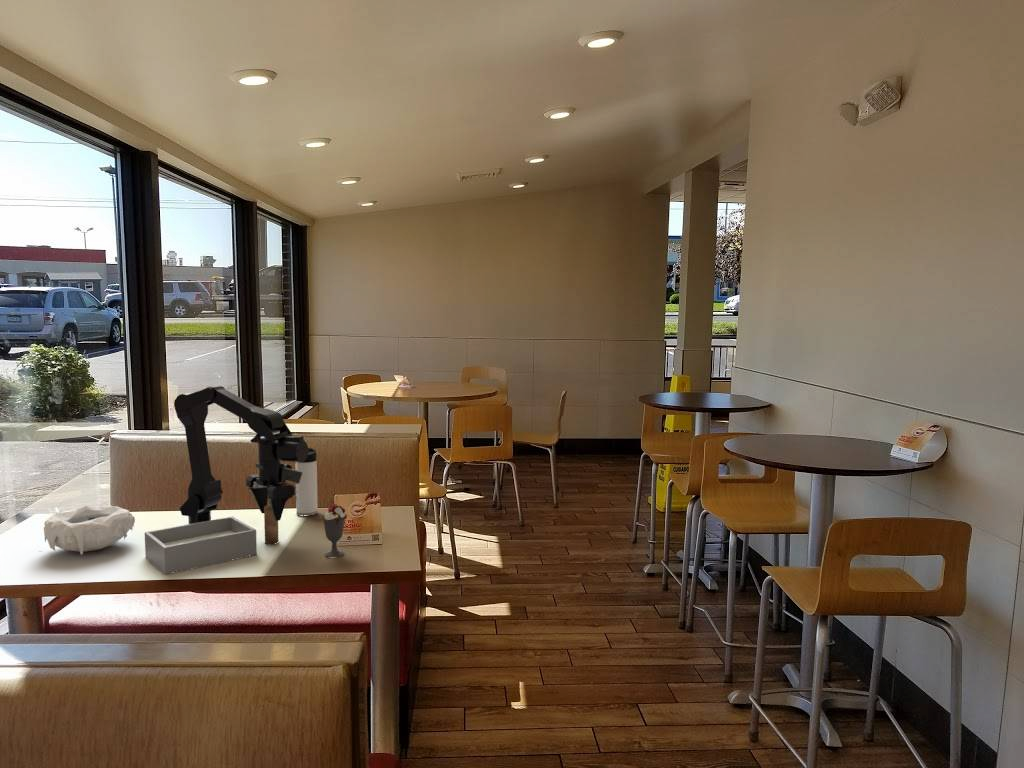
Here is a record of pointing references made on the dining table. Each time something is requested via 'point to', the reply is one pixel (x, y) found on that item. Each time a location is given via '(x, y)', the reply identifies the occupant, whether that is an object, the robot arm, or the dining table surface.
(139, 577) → the dining table surface
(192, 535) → the box
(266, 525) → the peg
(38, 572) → the dining table surface
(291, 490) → the robot arm
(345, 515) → the sundae
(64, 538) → the bowl
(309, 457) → the travel mug
